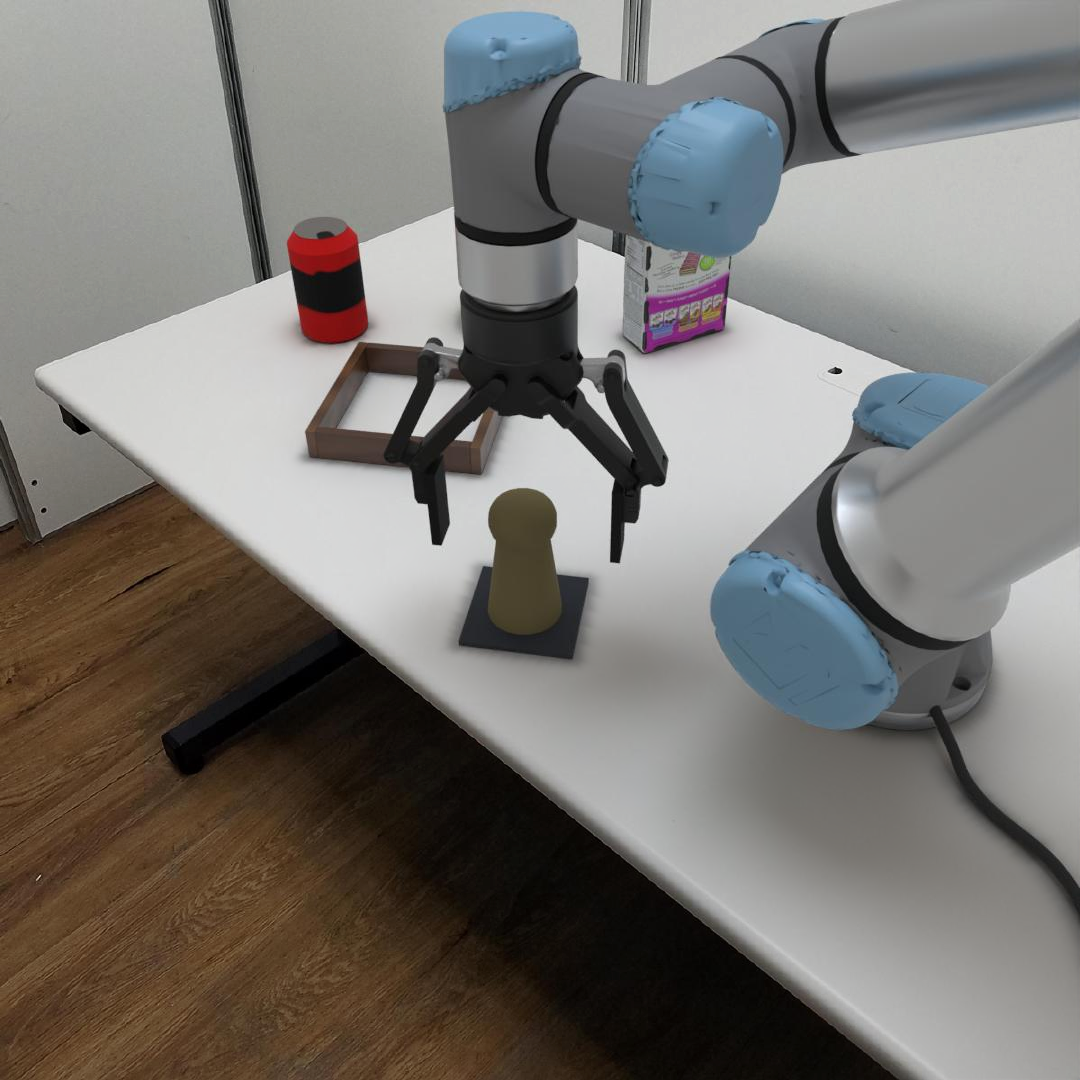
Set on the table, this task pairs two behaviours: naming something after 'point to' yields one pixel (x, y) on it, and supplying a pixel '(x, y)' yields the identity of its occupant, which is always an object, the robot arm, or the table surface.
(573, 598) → the mat
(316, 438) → the wooden frame
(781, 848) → the table surface
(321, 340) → the soda can
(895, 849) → the table surface
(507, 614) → the olive pawn
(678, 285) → the candy bar box
